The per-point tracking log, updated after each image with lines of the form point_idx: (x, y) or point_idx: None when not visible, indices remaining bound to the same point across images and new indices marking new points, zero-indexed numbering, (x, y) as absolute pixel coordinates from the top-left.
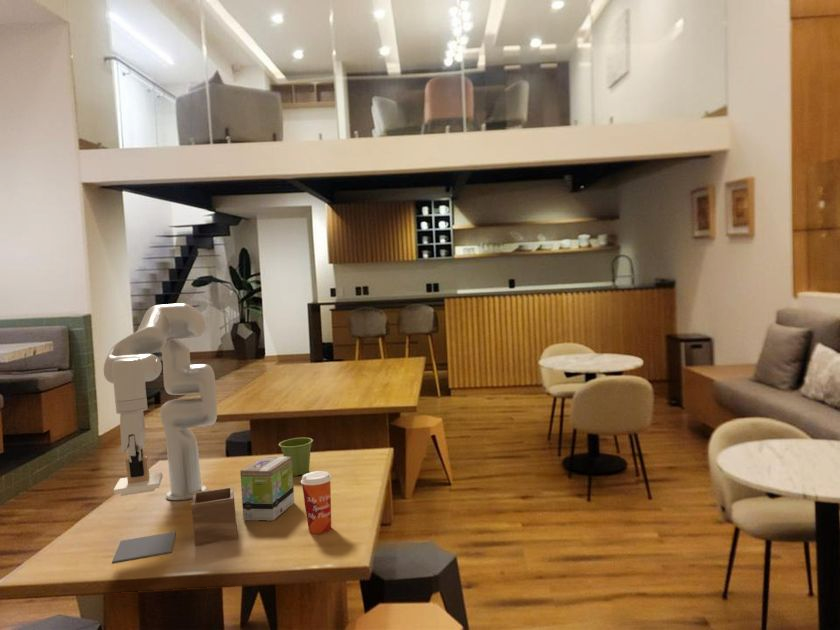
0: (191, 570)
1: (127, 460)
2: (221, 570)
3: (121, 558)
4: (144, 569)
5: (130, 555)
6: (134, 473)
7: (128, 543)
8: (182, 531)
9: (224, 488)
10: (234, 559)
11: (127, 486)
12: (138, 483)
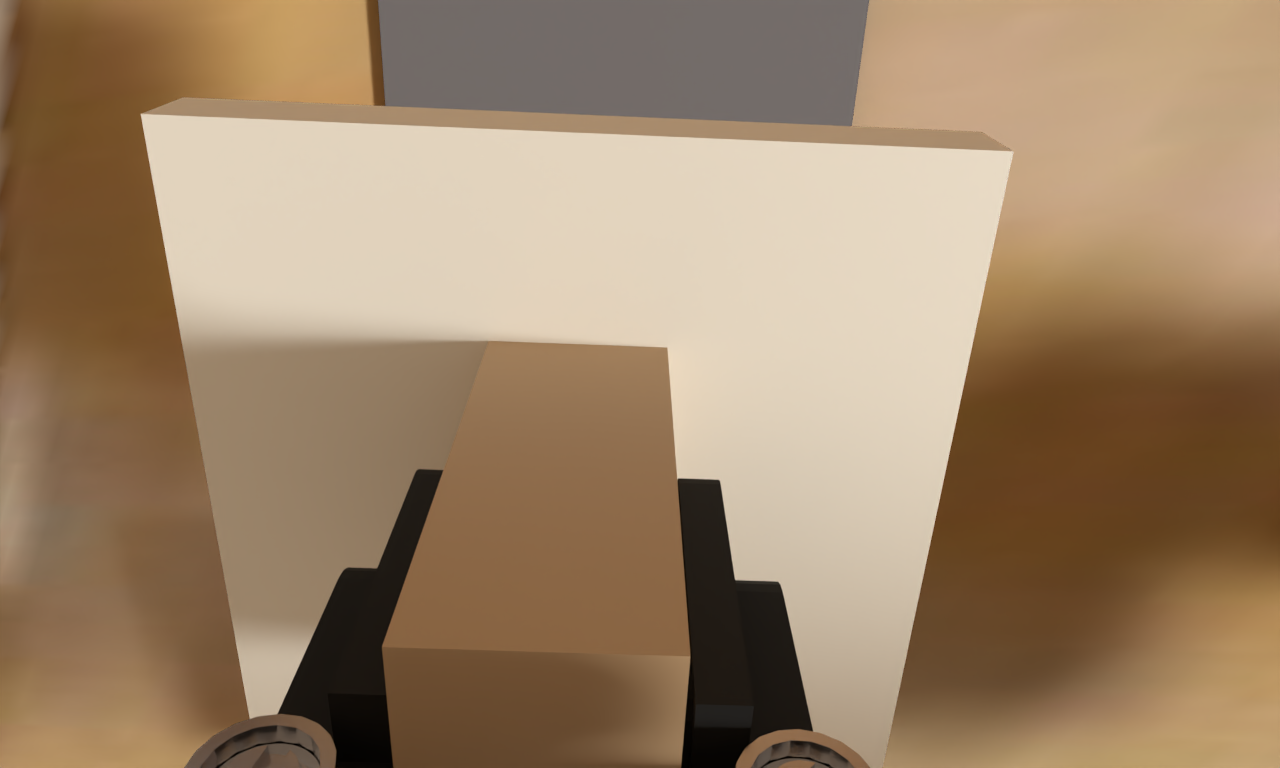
0: (47, 501)
1: (397, 689)
2: (4, 644)
3: (411, 14)
4: (152, 213)
5: (448, 87)
6: (351, 584)
7: (754, 42)
8: None
9: None
10: (147, 706)
11: (279, 352)
12: (394, 509)
